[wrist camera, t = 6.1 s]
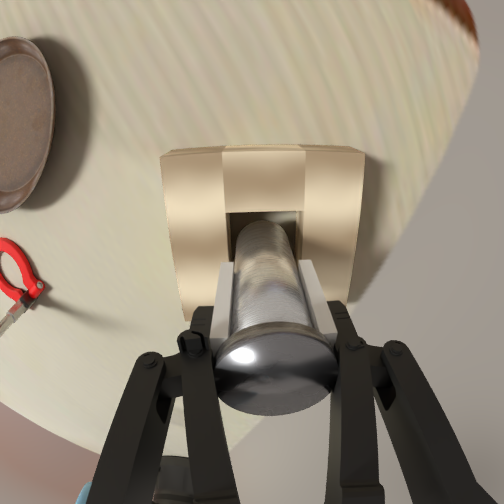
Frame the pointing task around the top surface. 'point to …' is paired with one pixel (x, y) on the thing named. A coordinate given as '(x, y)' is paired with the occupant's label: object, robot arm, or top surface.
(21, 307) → the tow hook
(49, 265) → the top surface
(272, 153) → the oak hitch block
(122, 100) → the top surface
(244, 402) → the steel pin
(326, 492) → the robot arm
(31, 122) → the plant saucer
